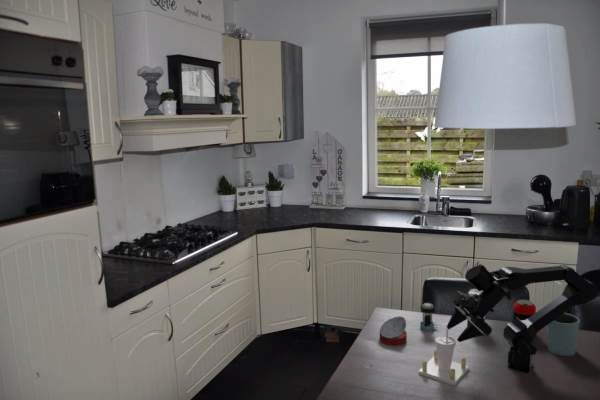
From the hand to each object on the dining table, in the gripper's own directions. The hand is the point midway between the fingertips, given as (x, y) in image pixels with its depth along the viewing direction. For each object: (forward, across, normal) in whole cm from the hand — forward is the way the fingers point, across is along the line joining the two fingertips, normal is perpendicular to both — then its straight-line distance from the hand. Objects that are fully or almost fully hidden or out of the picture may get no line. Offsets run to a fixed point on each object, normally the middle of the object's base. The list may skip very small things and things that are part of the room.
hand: (452, 334), depth 160 cm
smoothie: (+10, 0, +7) cm, 12 cm away
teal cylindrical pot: (-21, -9, +39) cm, 45 cm away
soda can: (-17, -24, +35) cm, 46 cm away
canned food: (+18, -24, 0) cm, 30 cm away
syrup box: (-6, -31, +24) cm, 40 cm away
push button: (+7, -32, +11) cm, 34 cm away
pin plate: (+11, 0, +7) cm, 13 cm away
